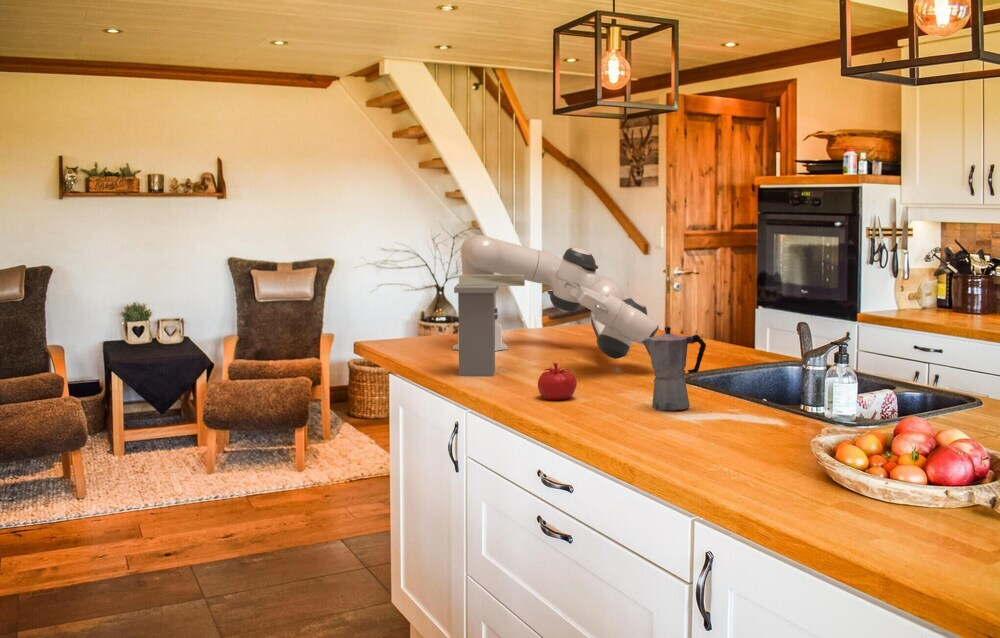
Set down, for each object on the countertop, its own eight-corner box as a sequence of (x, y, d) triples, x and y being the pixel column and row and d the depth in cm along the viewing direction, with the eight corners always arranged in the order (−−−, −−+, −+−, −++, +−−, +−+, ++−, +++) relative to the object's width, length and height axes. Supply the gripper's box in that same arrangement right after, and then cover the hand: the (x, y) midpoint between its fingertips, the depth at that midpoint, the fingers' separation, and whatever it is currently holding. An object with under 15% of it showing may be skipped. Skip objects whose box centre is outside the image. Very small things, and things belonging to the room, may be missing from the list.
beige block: (460, 284, 276) (460, 274, 276) (524, 284, 276) (524, 274, 275) (459, 285, 273) (459, 275, 273) (524, 285, 272) (524, 275, 272)
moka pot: (639, 403, 235) (640, 324, 233) (701, 404, 234) (703, 324, 231) (641, 411, 226) (642, 329, 223) (706, 412, 224) (708, 329, 222)
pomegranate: (579, 402, 238) (579, 366, 236) (539, 402, 237) (540, 366, 235) (572, 393, 247) (573, 359, 246) (535, 394, 247) (535, 359, 245)
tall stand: (459, 368, 285) (458, 283, 282) (498, 368, 284) (498, 283, 281) (455, 377, 271) (454, 287, 268) (496, 377, 271) (496, 287, 267)
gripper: (603, 323, 263) (560, 298, 263) (599, 314, 283) (559, 291, 283) (614, 303, 262) (571, 279, 262) (609, 296, 283) (569, 273, 282)
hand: (565, 285), depth 273 cm, fingers open, 8 cm apart
